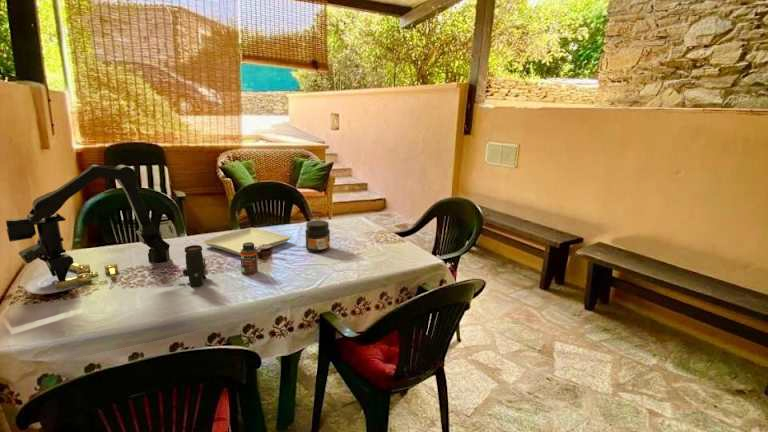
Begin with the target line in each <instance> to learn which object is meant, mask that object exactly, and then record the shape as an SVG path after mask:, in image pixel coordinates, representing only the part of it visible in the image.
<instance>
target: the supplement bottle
mask: <svg viewBox="0 0 768 432" xmlns="http://www.w3.org/2000/svg"><path fill="white" fill-rule="evenodd" d="M240 253H241V255H240V269H241V270H240V271H241V273H242V274H243V275H245V276H250V275H255V274H257V273H258V272H259V267H258V266H259V263H258V253H257V250H256V249H255V248H254V243H252V242H247V243H244V244H243V249H242V250H241V252H240Z"/></svg>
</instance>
